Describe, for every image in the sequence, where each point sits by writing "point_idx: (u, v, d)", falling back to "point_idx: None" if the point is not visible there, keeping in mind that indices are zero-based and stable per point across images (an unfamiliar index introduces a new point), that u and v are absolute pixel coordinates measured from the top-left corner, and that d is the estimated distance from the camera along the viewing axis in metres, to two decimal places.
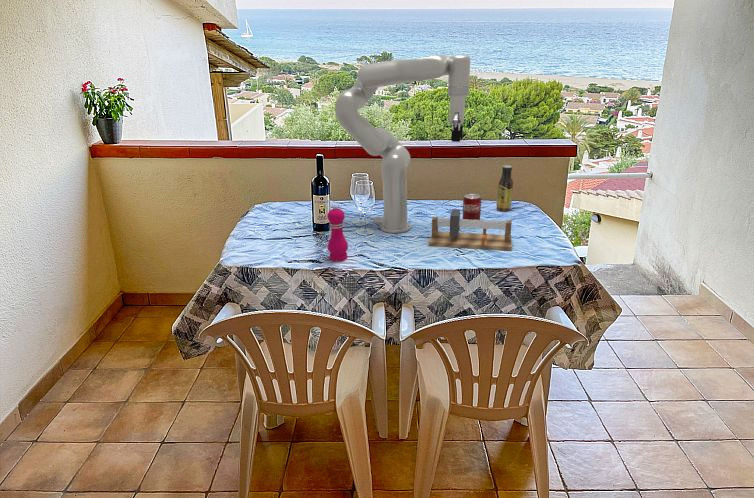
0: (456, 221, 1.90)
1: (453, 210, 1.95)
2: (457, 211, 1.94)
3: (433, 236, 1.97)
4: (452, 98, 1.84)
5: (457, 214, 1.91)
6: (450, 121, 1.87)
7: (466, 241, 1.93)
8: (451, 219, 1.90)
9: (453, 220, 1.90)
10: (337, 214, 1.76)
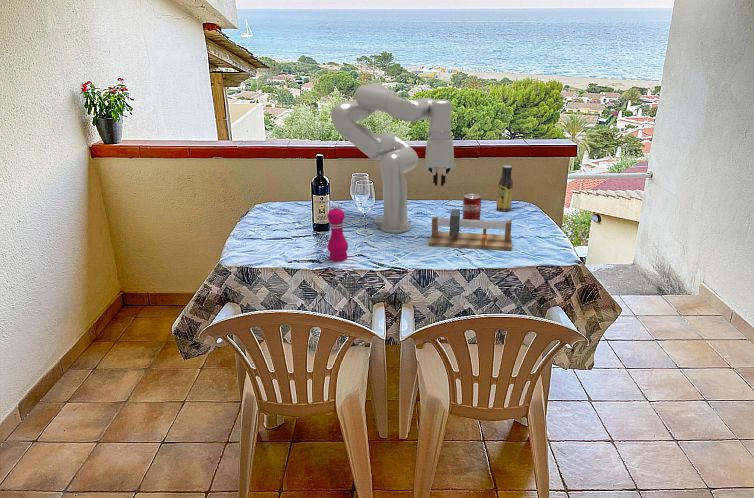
0: (456, 221, 1.90)
1: (453, 210, 1.95)
2: (457, 211, 1.94)
3: (433, 236, 1.97)
4: (451, 142, 1.85)
5: (457, 214, 1.91)
6: (452, 164, 1.87)
7: (466, 241, 1.93)
8: (451, 219, 1.90)
9: (453, 220, 1.90)
10: (337, 214, 1.76)
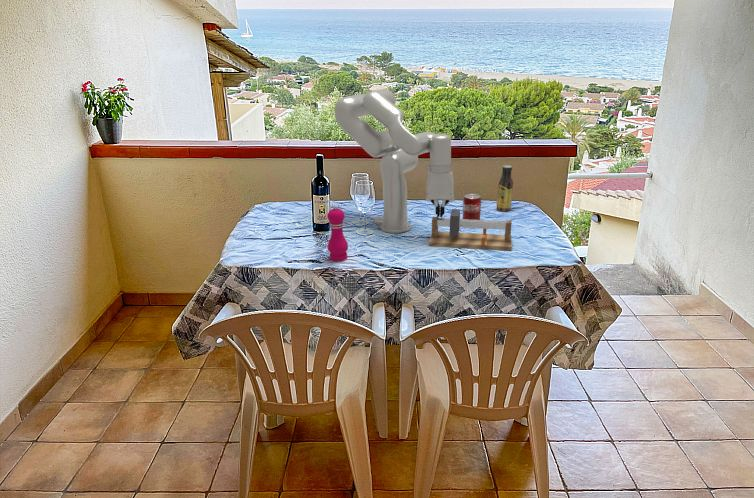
0: (456, 221, 1.90)
1: (453, 210, 1.95)
2: (457, 211, 1.94)
3: (433, 236, 1.97)
4: (451, 175, 1.89)
5: (457, 214, 1.91)
6: (452, 196, 1.92)
7: (466, 241, 1.93)
8: (451, 219, 1.90)
9: (453, 220, 1.90)
10: (337, 214, 1.76)
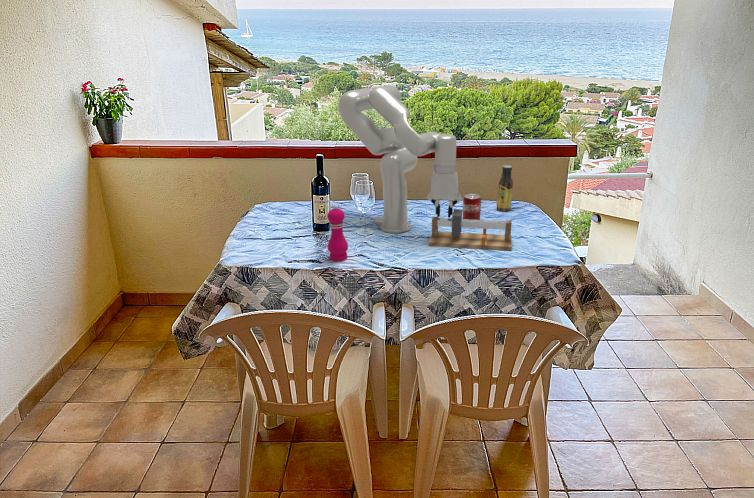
0: (458, 221, 1.90)
1: (455, 210, 1.95)
2: (459, 211, 1.94)
3: (433, 236, 1.97)
4: (456, 175, 1.89)
5: (459, 214, 1.91)
6: (457, 197, 1.91)
7: (466, 241, 1.93)
8: (453, 219, 1.90)
9: (455, 220, 1.90)
10: (337, 214, 1.76)
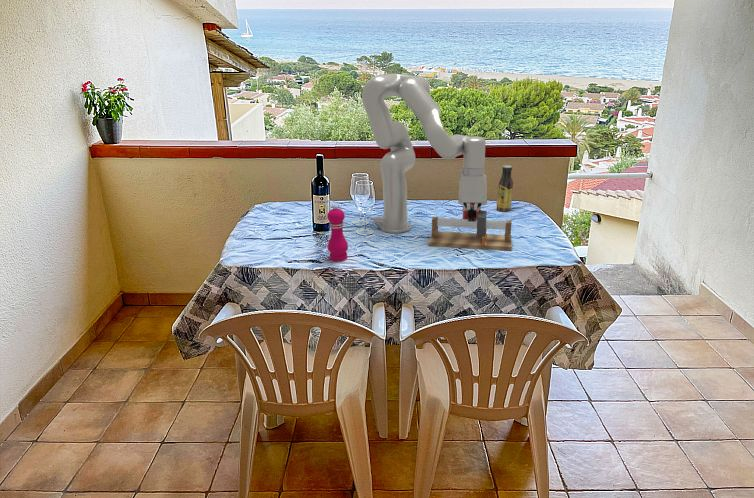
0: (483, 222, 1.88)
1: (480, 211, 1.93)
2: (484, 212, 1.92)
3: (433, 236, 1.97)
4: (485, 178, 1.87)
5: (484, 215, 1.89)
6: (485, 199, 1.89)
7: (466, 241, 1.93)
8: (478, 220, 1.88)
9: (480, 221, 1.88)
10: (337, 214, 1.76)
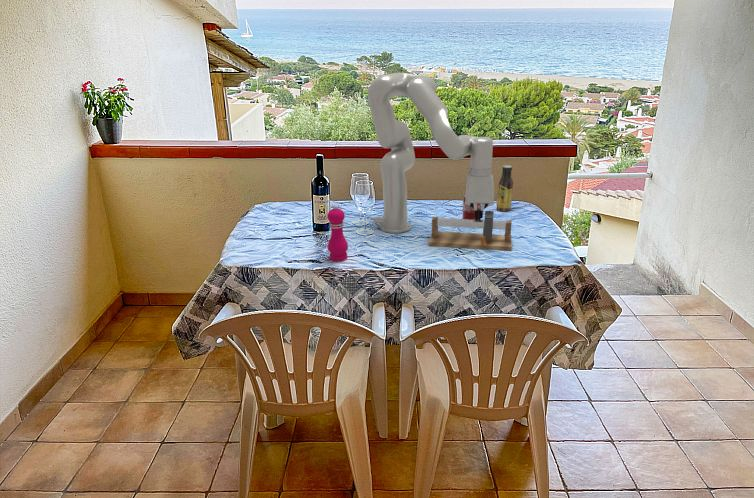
0: (491, 223, 1.87)
1: (486, 212, 1.93)
2: (491, 213, 1.91)
3: (433, 236, 1.97)
4: (492, 178, 1.86)
5: (491, 216, 1.88)
6: (492, 200, 1.89)
7: (466, 241, 1.93)
8: (485, 221, 1.87)
9: (487, 222, 1.87)
10: (337, 214, 1.76)
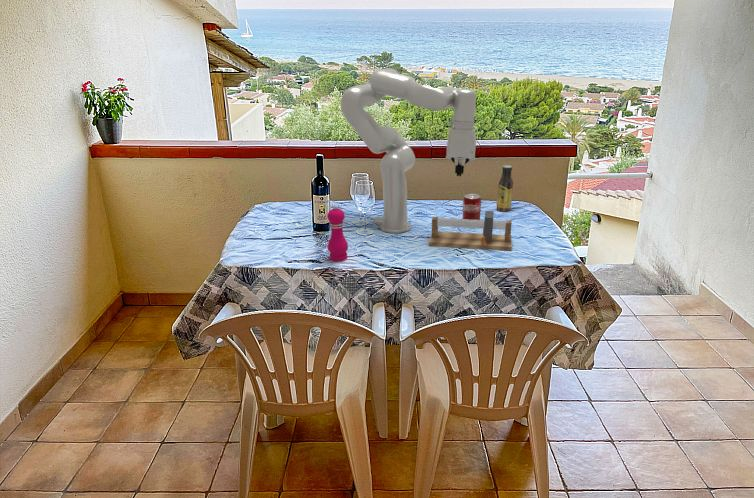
0: (491, 223, 1.87)
1: (487, 212, 1.93)
2: (491, 213, 1.91)
3: (433, 236, 1.97)
4: (474, 132, 1.83)
5: (491, 216, 1.88)
6: (474, 155, 1.86)
7: (466, 241, 1.93)
8: (485, 221, 1.87)
9: (488, 222, 1.87)
10: (337, 214, 1.76)
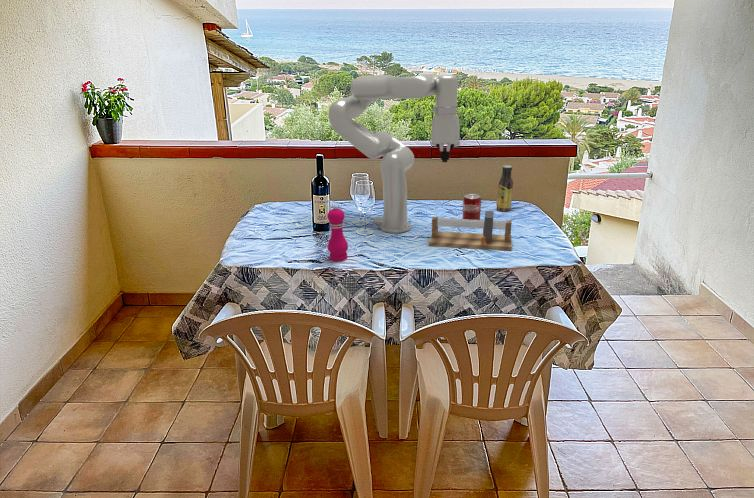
0: (491, 223, 1.87)
1: (487, 212, 1.93)
2: (491, 213, 1.91)
3: (433, 236, 1.97)
4: (457, 117, 1.85)
5: (491, 216, 1.88)
6: (458, 140, 1.88)
7: (466, 241, 1.93)
8: (485, 221, 1.87)
9: (488, 222, 1.87)
10: (337, 214, 1.76)
